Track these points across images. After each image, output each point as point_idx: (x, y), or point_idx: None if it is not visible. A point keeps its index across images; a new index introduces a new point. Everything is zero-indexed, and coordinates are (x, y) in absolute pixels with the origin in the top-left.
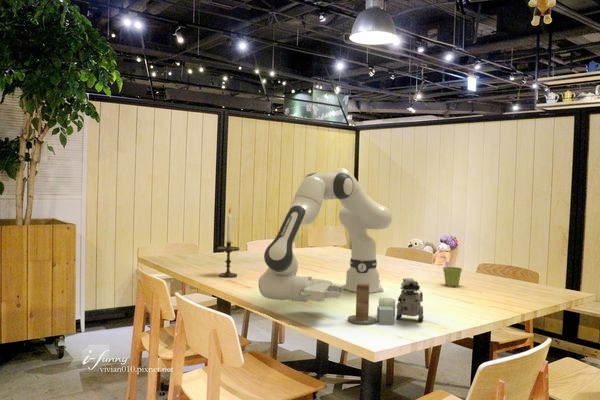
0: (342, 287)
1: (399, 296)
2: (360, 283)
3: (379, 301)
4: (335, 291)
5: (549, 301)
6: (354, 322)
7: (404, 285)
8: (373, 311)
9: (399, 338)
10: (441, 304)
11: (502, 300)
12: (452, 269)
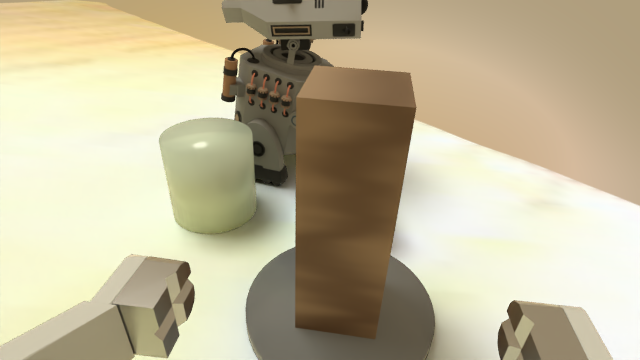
0: (170, 259)
1: (297, 82)
2: (316, 89)
3: (212, 164)
4: (547, 350)
5: (118, 18)
6: (426, 353)
7: (357, 11)
8: (109, 245)
9: (566, 207)
10: (74, 89)
11: (83, 37)
12: None
